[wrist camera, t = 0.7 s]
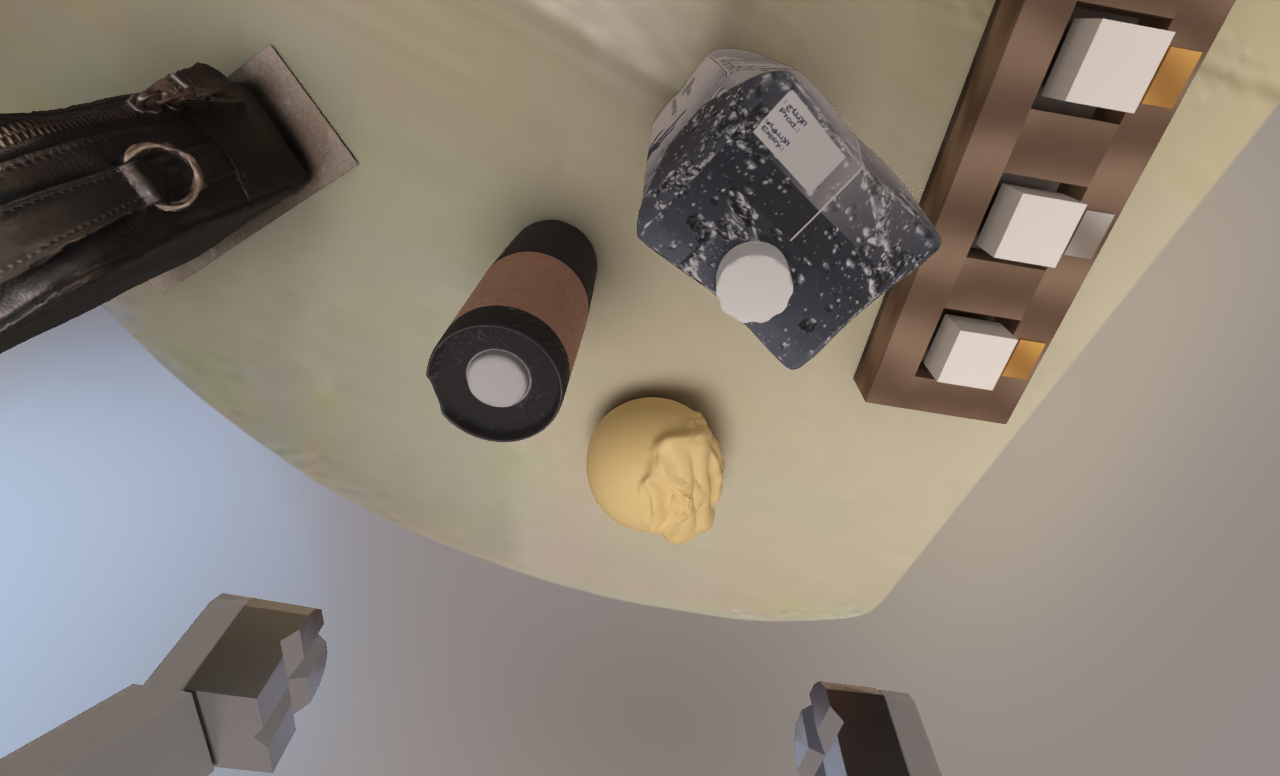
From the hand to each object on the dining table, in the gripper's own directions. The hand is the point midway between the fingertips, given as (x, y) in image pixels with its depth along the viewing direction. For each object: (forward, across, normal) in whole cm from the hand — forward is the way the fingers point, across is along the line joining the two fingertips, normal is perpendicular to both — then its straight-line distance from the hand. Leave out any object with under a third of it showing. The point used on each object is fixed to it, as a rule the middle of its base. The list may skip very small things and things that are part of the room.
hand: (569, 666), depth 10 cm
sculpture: (+43, -5, +24) cm, 49 cm away
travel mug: (+43, +6, +9) cm, 44 cm away
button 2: (+39, -26, -12) cm, 49 cm away
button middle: (+40, -27, -2) cm, 48 cm away
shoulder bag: (+43, +33, +7) cm, 55 cm away
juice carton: (+43, -6, -4) cm, 43 cm away
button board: (+43, -27, -2) cm, 50 cm away
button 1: (+40, -27, +8) cm, 49 cm away
